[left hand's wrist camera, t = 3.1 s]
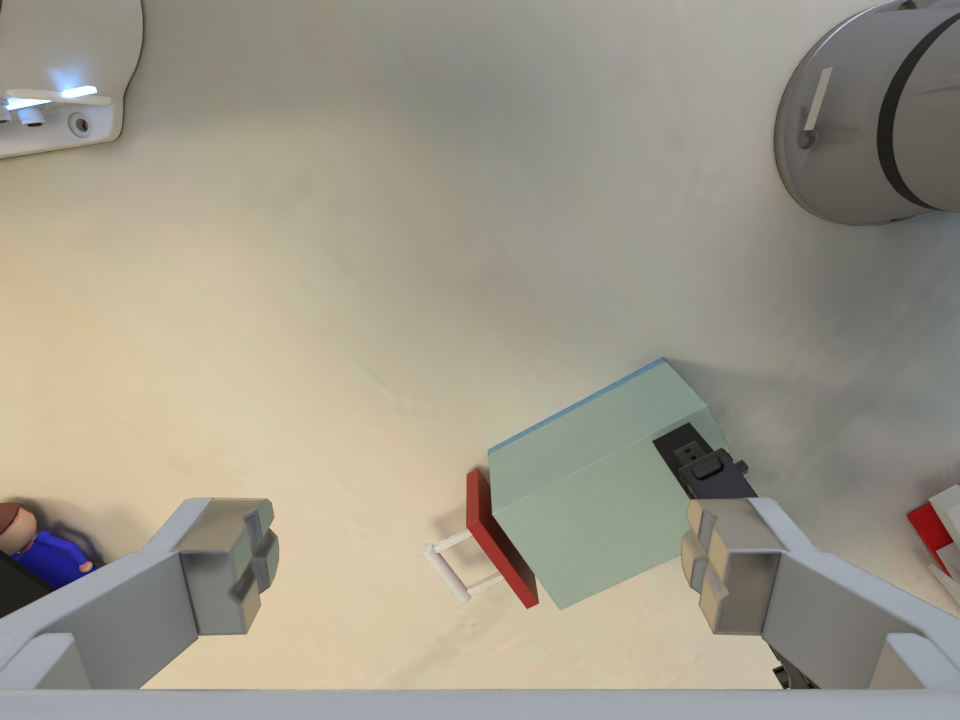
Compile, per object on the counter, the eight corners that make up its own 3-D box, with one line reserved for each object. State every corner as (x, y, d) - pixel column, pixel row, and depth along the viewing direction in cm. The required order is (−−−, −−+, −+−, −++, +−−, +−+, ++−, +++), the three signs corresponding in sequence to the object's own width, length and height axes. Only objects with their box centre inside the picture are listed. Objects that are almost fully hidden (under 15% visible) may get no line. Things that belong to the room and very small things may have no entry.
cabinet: (544, 534, 54) (559, 610, 45) (487, 450, 51) (491, 514, 42) (711, 452, 51) (763, 517, 42) (662, 357, 48) (708, 405, 39)
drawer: (469, 572, 54) (469, 636, 47) (414, 501, 51) (405, 557, 44) (672, 473, 51) (706, 526, 44) (627, 389, 48) (654, 431, 40)
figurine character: (152, 567, 56) (18, 478, 50) (114, 632, 49) (-46, 538, 43) (109, 598, 58) (-27, 514, 52) (66, 665, 51) (-96, 578, 45)
